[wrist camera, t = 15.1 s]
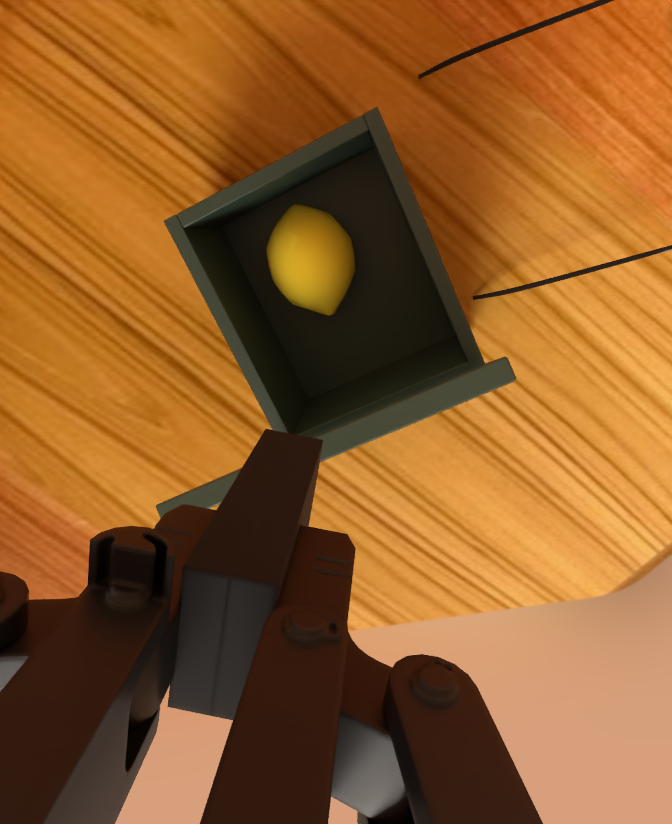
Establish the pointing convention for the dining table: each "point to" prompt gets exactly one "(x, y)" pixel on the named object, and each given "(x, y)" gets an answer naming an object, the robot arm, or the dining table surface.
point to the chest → (364, 300)
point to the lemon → (311, 259)
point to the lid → (373, 424)
